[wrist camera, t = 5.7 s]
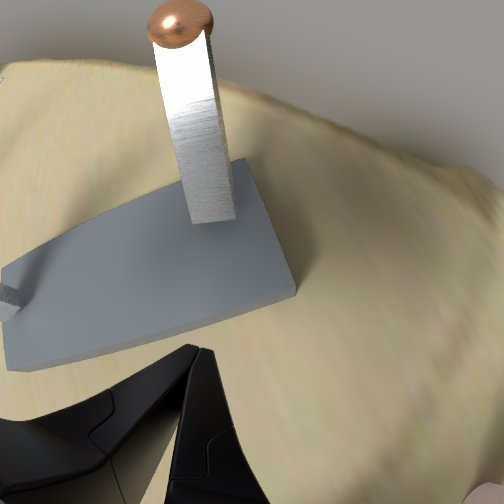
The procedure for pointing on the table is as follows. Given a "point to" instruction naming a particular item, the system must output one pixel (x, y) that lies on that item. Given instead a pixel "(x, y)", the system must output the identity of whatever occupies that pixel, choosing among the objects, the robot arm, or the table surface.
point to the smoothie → (486, 494)
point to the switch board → (142, 277)
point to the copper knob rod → (194, 107)
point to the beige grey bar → (8, 302)
